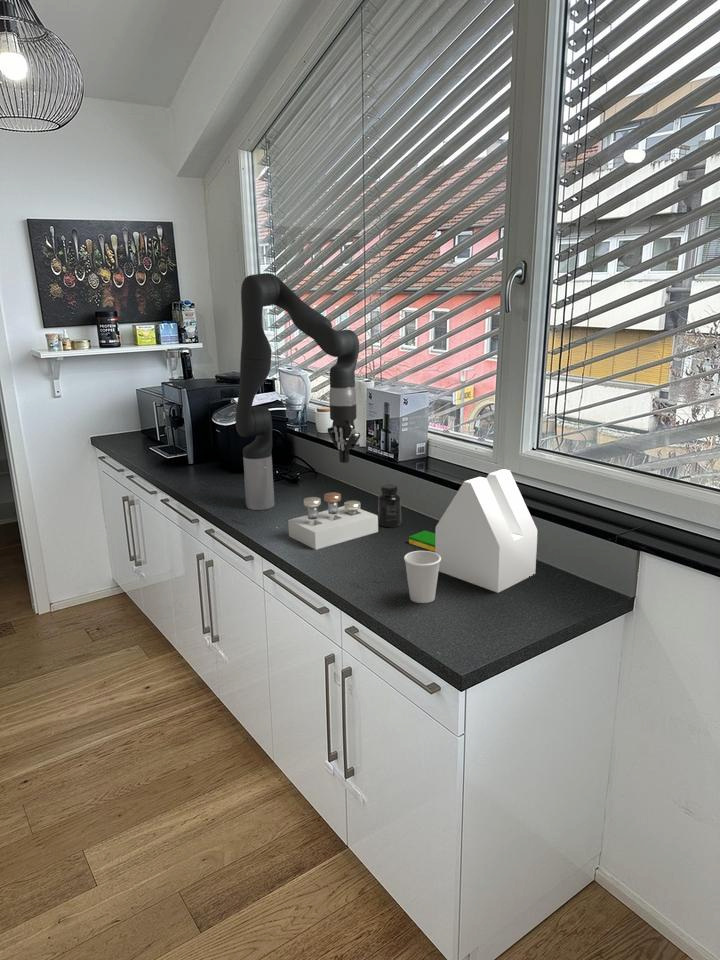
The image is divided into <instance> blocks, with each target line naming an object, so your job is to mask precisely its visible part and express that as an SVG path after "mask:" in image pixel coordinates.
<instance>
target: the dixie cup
mask: <svg viewBox="0 0 720 960" xmlns="http://www.w3.org/2000/svg"><path fill="white" fill-rule="evenodd" d="M403 559H404V563H405V571H406V577H407V586H408V592H409V598H410V601H412V602H413V603H417V604H427V603H432V602H433V601H434V600H435V598H436V593H437V584H438V578H439V572H440V571H439V564H440V561H441V557H440V556H439V555H438V554H436V553H435V552H434V551H431V550H416V551H409V552H408V553H406V554H405V555H404V557H403Z"/></svg>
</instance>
